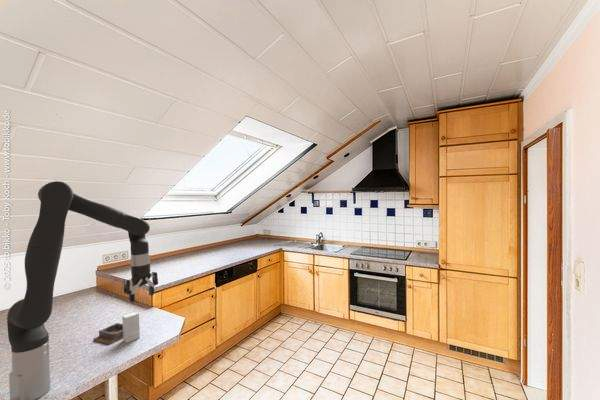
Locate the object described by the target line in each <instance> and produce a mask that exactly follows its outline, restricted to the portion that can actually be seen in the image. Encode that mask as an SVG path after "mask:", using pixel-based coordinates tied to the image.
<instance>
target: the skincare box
mask: <svg viewBox="0 0 600 400" xmlns="http://www.w3.org/2000/svg"><path fill="white" fill-rule="evenodd" d="M121 319H122V320H121V321H122V324H123V338H122V340H123V342H125V343H127V344H128V343H130V342H133V341H136V340H139V338H141V335H140V334H141V333H140V331H141V330H140V313H139V312H137V311H134V312H131V313H127V314H124V315H122V318H121Z"/></svg>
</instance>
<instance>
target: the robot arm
mask: <svg viewBox="0 0 600 400" xmlns="http://www.w3.org/2000/svg"><path fill="white" fill-rule="evenodd" d="M37 197H38V200H39V201H40V207H39V215H38V219H37V220H36V221H37V222H36V224H35V225H34V228H33V229H32V232H31V234H30V237H29V240H28V243H27V248H26V250H25V256H24V272H25V277H26V289H25V295H24V298H22V299H19V300H17V301H16V302H15V303H13V304H12V306H11V307H10V308H9V310H8V312H7V316H6V322H7V323H6V328H7V337H8V338H7V339H8V342H9V344H10V349H11V350H10V351H11V372H10V373H8V377H9V381H8V382H9V400H38V399H40V398H41V397H43V396H45V395H46V394H47V393H48V392H49V391H50V389H51V368H50V367H51V366H50V365H51V363H50V339H49V338H50V335H49V332H48V331H47V329H46V327H45V323H47V322H48V320H49V318H50V317H51V315H52V311H53V304H54V303H53V301H54V300H53V299H54V287H55V281H56V277H57V273H58V268H59V263H60V260H61V255H62V250H63V246H64V245H63V244H64V238H65V237H64V236H65V229H66V219H67V215H68V212H69V211H71V212H73V213H77V214H80V215H83V216H85V217H88V218H90V219H93V220H95V221H98V222H101V223H103V224H105V225H108V226H111V227H113V228H117V229H122V230H124V231H127V234H128V239H129V243H130V274H131V277H130V279H124V280H123V293H124V294H126V295H128V300H129V302H130V303H135V302H136V298H135V292H136V291H137V290H138V288H139V287H143V286H146V285H147V286H148V294H149V296H154V294H155V287H156V286H157V285H158V284H159V279H158V272H156V271H152V272H151V258H150V252H149V251H150V249H149V241H148V240H147V239H146V235H147V233H149V232H150V228H151V227H150V226H151V225H150V224H149V223H148V221H146V220H144V219H142V218H140V217H136V216H133V215H130V214H127V213H126V212H123V211H122V210H119V209H116V208H115V207H111V206H109V205H105V204H102V203H98V202H96V201H93V200H92V201H91V200H90V199H87V198H84V197H82V196H80V195H78V194H76V193H74V191H73V188H72V187H71V186H70V185H69V184H67V183H66V182H64V181H58V180H57V181H51V182H48V183H45V184H44V185H42V186H41V188H39V190H38V192H37ZM150 279H152V281H151V280H150ZM130 285H131V286H130Z"/></svg>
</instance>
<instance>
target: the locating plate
mask: <svg viewBox="0 0 600 400" xmlns="http://www.w3.org/2000/svg"><path fill="white" fill-rule="evenodd" d="M121 339H123V323H120V322H119V323H118V322H116V323H114V324H112V325H110V326H107V327H105V328H103V329H101V330H98V336H96V337H94V338H93V341H94V342H97V343H102V344H104V345H108V346H109V345H111V344H113V343H115V342H117V341H119V340H121Z"/></svg>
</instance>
